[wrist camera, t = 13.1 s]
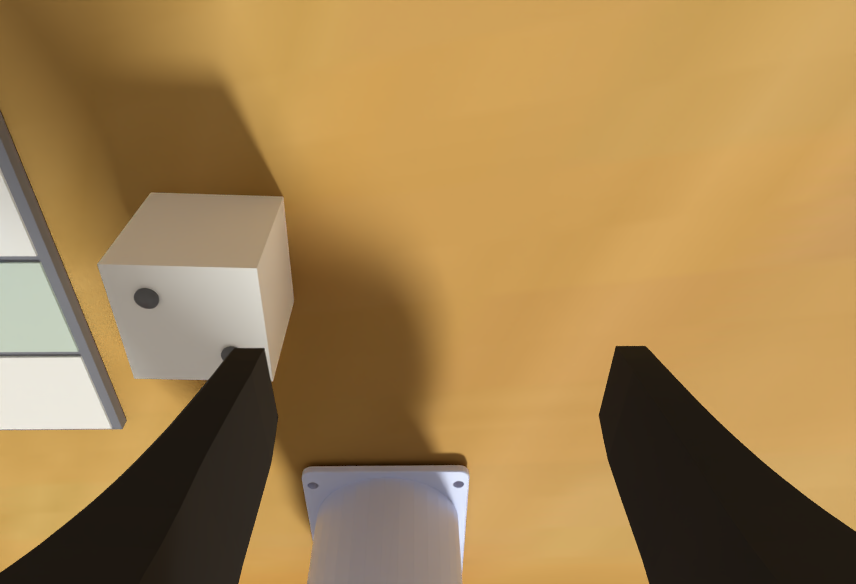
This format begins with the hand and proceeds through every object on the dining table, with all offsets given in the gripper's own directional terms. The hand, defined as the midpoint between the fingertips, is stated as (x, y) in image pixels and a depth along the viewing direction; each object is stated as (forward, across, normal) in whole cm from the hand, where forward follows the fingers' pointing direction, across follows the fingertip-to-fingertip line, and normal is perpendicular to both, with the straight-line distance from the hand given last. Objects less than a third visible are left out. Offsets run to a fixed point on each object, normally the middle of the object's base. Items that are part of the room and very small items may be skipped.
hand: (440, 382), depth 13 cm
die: (+10, +7, +3) cm, 13 cm away
